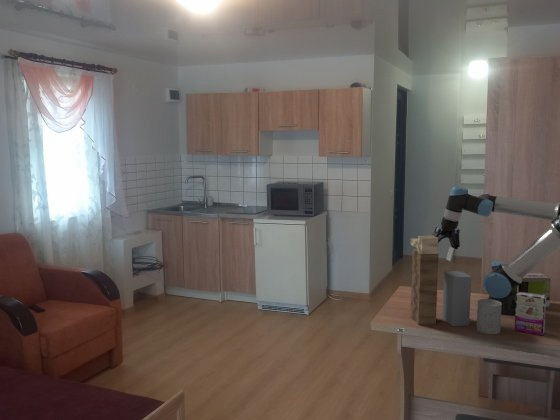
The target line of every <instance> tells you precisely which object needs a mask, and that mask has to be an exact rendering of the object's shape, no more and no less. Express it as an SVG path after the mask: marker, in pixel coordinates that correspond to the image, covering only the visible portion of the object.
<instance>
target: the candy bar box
mask: <svg viewBox="0 0 560 420" xmlns="http://www.w3.org/2000/svg"><path fill="white" fill-rule="evenodd" d="M546 308H547V307H546V295H540V294H533V293H525V292H518V293H517V294H516V311H515V314H514V315H515V317H514V331H515V332H519V331H520V332H519V333H525V332H526V334H530V333H532V334H531V335H536V334H538V336H541V335H543V336H544V334H545V332H546V331H545V325H546V324H545V323H546V310H547V309H546Z"/></svg>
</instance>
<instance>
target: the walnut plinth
mask: <svg viewBox="0 0 560 420" xmlns="http://www.w3.org/2000/svg"><path fill="white" fill-rule="evenodd" d="M411 253H412V259H411V260H412V261H411V288H410V289H411V292H410V297H411V298H410V319H412V320H413V321H414V322H415V324H417V325H418V326H420V325H421V326H423V325H425V326H427V325H437V324H436V323H437V322H436V321H437V304H438V302H437V301H438V282H439V279H438V278H439V277H438V276H439V255H440V253H438V252H437V254H421V253H419V252H418V249H417V248H412V252H411Z"/></svg>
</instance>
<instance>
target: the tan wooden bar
mask: <svg viewBox="0 0 560 420" xmlns="http://www.w3.org/2000/svg"><path fill="white" fill-rule="evenodd" d="M409 239H410V243H409V244H410V245H411V246H412V247H413V248H414V249H418V252H419V253H421V254H437V253H438V252H439V250H438V247H439V245H438V244H439V243H438V238H437V237H435V236H432V235H418V236H417V237H411V238H409Z"/></svg>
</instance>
